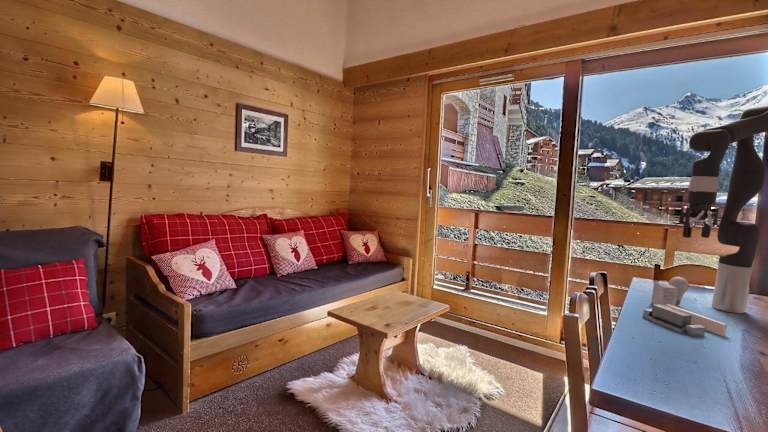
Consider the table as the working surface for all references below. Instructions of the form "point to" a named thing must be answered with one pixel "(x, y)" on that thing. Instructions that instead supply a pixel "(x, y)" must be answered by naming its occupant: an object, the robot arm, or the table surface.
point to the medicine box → (664, 294)
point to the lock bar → (671, 316)
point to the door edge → (704, 322)
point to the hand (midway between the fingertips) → (695, 237)
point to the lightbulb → (679, 287)
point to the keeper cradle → (690, 329)
